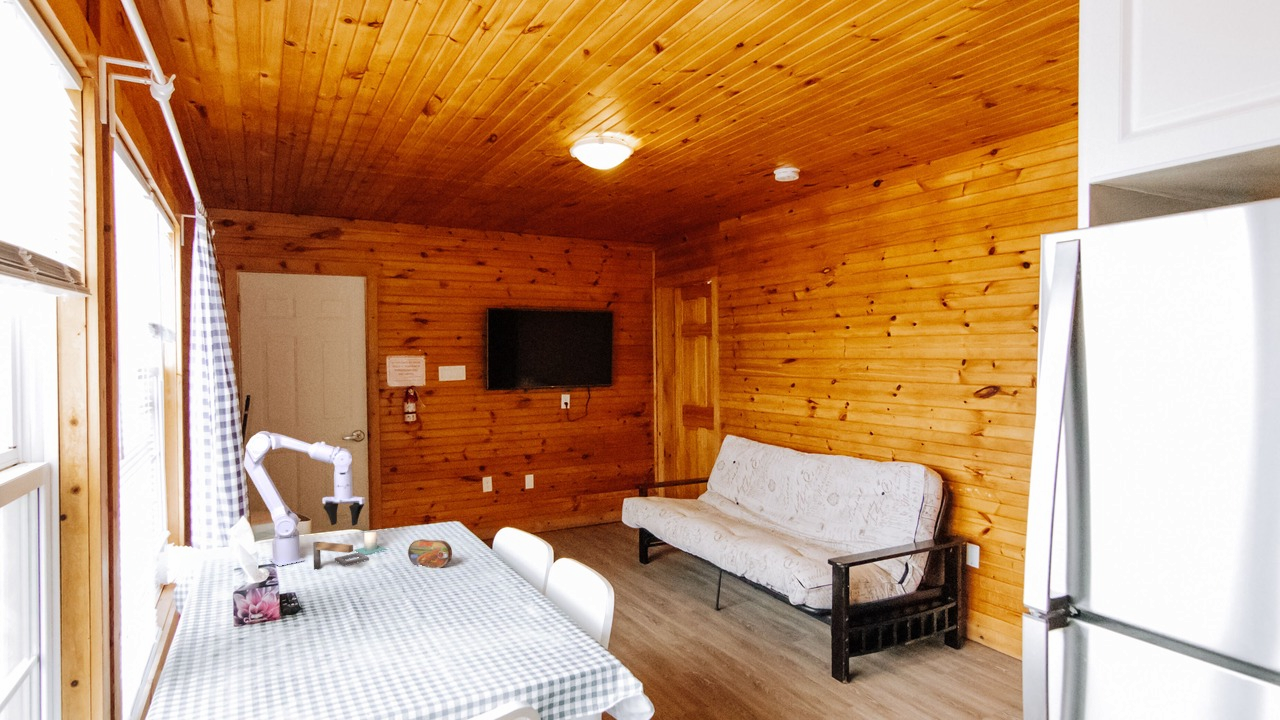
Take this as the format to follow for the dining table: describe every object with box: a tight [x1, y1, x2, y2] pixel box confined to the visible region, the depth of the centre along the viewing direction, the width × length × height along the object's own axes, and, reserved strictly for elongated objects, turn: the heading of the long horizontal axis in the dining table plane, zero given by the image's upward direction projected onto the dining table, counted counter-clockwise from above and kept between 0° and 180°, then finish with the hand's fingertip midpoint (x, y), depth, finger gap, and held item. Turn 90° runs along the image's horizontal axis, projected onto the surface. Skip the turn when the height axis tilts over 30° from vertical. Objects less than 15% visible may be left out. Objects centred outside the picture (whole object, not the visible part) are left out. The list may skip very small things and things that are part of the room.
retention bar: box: [312, 541, 354, 570], centre depth 215 cm, size 14×2×8 cm, turn 72°
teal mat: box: [353, 544, 388, 556], centre depth 235 cm, size 8×8×1 cm
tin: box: [407, 538, 453, 569], centre depth 218 cm, size 15×3×8 cm, turn 73°
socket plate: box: [334, 552, 370, 567], centre depth 225 cm, size 8×8×1 cm
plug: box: [363, 530, 378, 551], centre depth 235 cm, size 4×4×6 cm
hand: (344, 524), depth 231 cm, fingers open, 7 cm apart
